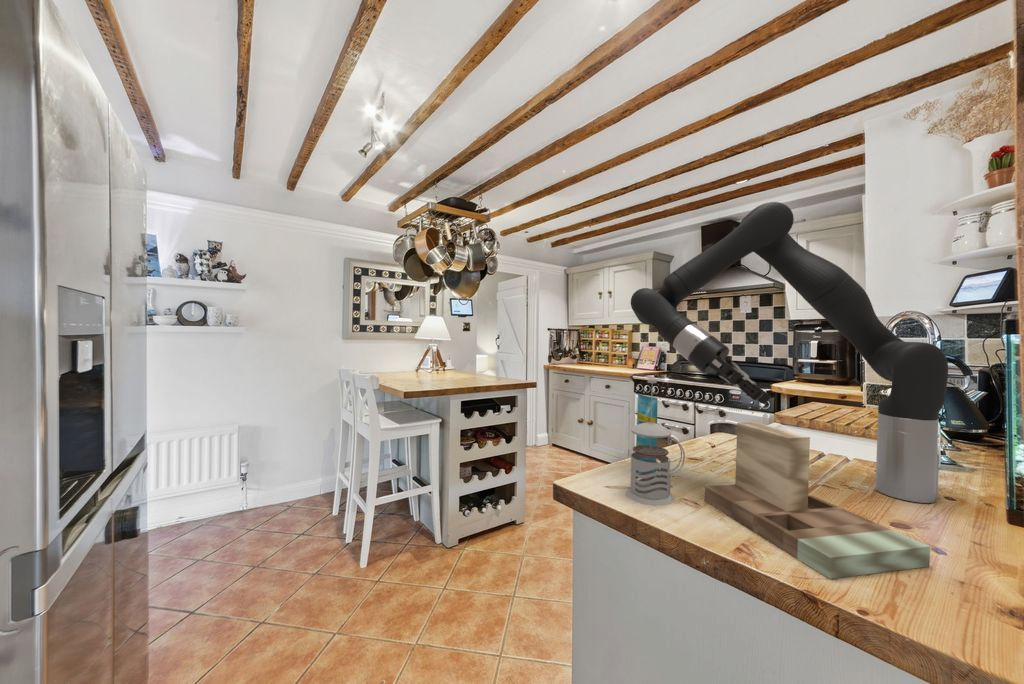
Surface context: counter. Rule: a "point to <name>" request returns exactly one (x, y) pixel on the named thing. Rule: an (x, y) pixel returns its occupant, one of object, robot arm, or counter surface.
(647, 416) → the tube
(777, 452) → the block
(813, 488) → the counter surface
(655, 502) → the french press
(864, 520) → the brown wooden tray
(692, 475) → the counter surface
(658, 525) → the counter surface
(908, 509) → the counter surface
